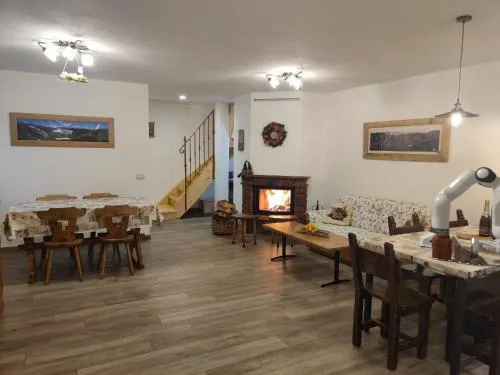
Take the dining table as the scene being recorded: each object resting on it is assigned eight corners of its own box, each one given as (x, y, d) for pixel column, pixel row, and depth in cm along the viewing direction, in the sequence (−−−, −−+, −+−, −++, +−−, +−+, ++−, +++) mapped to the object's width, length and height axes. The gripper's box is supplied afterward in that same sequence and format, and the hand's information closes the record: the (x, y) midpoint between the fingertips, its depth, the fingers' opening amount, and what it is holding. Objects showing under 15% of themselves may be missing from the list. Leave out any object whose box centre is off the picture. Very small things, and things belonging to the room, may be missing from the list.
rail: (456, 263, 225) (457, 244, 224) (450, 253, 247) (451, 236, 246) (482, 265, 220) (483, 246, 219) (473, 255, 242) (474, 237, 241)
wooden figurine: (451, 259, 233) (453, 232, 231) (451, 262, 227) (452, 234, 226) (431, 256, 239) (432, 230, 237) (430, 259, 234) (431, 232, 232)
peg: (471, 257, 223) (472, 238, 222) (469, 255, 227) (470, 237, 225) (478, 257, 221) (479, 239, 220) (477, 256, 225) (478, 237, 224)
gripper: (488, 236, 235) (468, 237, 234) (514, 244, 215) (492, 245, 213) (487, 246, 236) (468, 246, 234) (513, 255, 215) (492, 255, 214)
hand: (480, 246), depth 224 cm, fingers open, 8 cm apart
